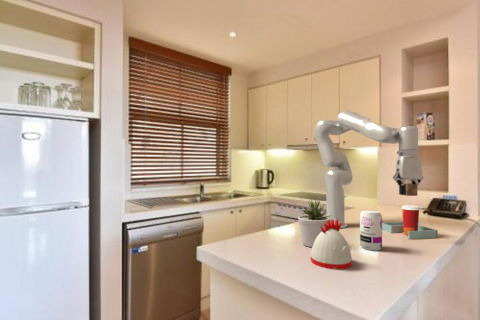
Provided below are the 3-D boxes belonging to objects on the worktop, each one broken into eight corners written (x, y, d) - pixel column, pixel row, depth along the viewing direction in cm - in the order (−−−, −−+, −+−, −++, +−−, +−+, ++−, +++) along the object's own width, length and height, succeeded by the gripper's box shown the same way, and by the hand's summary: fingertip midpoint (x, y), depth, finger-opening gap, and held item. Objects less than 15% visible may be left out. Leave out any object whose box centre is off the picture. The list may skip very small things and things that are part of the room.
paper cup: (413, 233, 139) (413, 204, 139) (423, 237, 131) (423, 207, 131) (397, 232, 139) (397, 204, 139) (407, 236, 131) (407, 207, 131)
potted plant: (336, 249, 113) (336, 199, 113) (303, 249, 112) (302, 200, 112) (324, 240, 125) (324, 196, 126) (294, 241, 125) (294, 196, 125)
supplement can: (380, 246, 117) (380, 210, 117) (383, 252, 109) (383, 213, 109) (359, 244, 120) (359, 209, 120) (361, 250, 112) (360, 212, 112)
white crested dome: (360, 266, 94) (360, 222, 94) (325, 271, 90) (325, 225, 90) (335, 254, 107) (335, 215, 107) (303, 257, 103) (303, 217, 103)
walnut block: (407, 195, 122) (407, 184, 122) (399, 194, 127) (399, 183, 127) (417, 195, 123) (417, 184, 123) (409, 194, 128) (409, 183, 128)
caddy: (409, 239, 127) (409, 231, 127) (381, 229, 146) (381, 222, 146) (437, 237, 130) (437, 230, 130) (406, 228, 149) (406, 221, 149)
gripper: (396, 153, 120) (396, 195, 120) (431, 153, 123) (431, 195, 123) (385, 154, 128) (385, 193, 128) (418, 154, 130) (418, 193, 130)
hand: (408, 193), depth 125 cm, fingers closed on walnut block, 5 cm apart
